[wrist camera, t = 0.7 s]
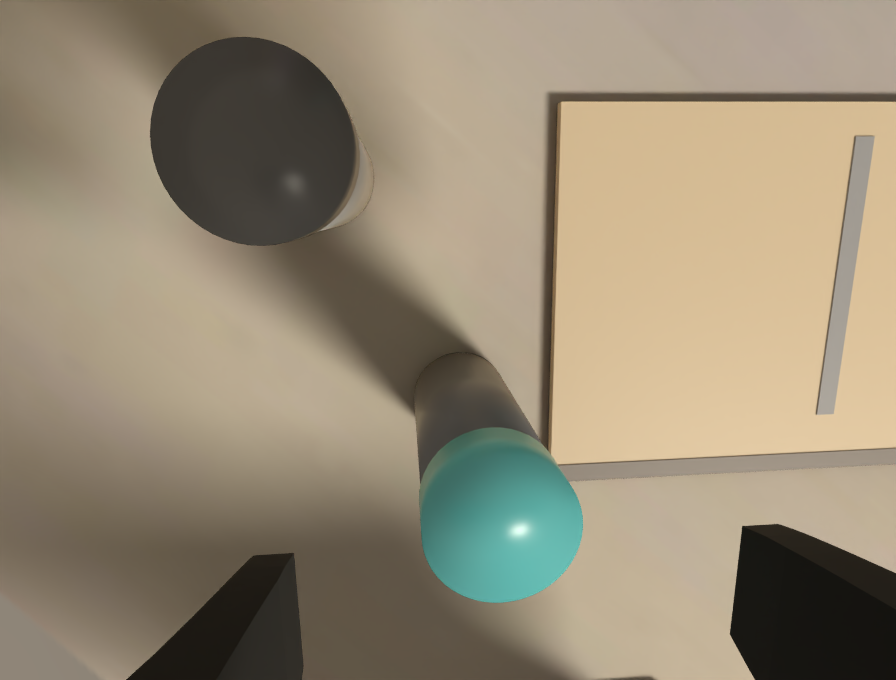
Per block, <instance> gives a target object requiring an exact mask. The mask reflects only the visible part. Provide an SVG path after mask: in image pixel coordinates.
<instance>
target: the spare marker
mask: <svg viewBox="0 0 896 680" xmlns="http://www.w3.org/2000/svg"><path fill="white" fill-rule="evenodd" d="M150 138H151V149H152V154H153V159H154V163H155V166H156V169H157V172H158V174H159V177H160V179H161V181H162V183H163V185H164V187H165V189H166V190H167V192H168V193H169V195H170V197H171V198H172V199H173V201H174V202H175V203H176V204H177V206H178V207H179V208H180V209H181V210H182V211H183V212H184V213H185V214H186V215H187V216H188V217H189V218H190V219H191V220H193V221H194V222H195V223H196V224H198V225H199V226H200V227H202V228H204V229H205V230H207V231H209V232H210V233H212V234H214V235H216V236H219V237H221V238H223V239H226V240H229V241H232V242H236V243H240V244H246V245H257V246H265V245H276V244H280V243H285V242H289V241H293V240H297V239H300V238H304V237H306V236H309V235H312V234H314V233H316V232H318V231H322V230H326V229H330V228H335V227H339V226H342V225H344V224H346V223H348V222H350V221H352V220H353V219H355V218H356V217H357V216H358V215H359V214H360V213H361V212H362V211H363V210H364V208H365V207H366V205H367V204H368V202H369V199H370V197H371V194H372V191H373V185H374V172H373V166H372V162H371V159H370V157H369V155H368V153H367V151H366V149H365V147H364V145H363V144H362V142H361V140H360V138H359V136H358V135H357V133H356V130H355V127H354V124H353V122H352V119H351V117H350V115H349V113H348V111H347V109H346V108H345V106H344V104H343V102H342V100H341V98H340V96H339V94H338V92H337V91H336V90H335V88H334V87H333V85H332V84H331V82H330V81H329V80H328V79H327V77H326V76H325V75H324V74H323V73H322V72H321V71H320V70H319V69H318V68H317V67H316V66H315V65H314V64H313V63H312V62H310V61H309V60H308V59H306V58H305V57H304V56H302V55H301V54H299V53H298V52H296V51H294V50H292V49H290V48H288V47H286V46H284V45H281V44H278V43H276V42H273V41H269V40H264V39H260V38H250V37H236V38H227V39H223V40H218V41H215V42H212V43H209V44H207V45H204V46H202V47H200V48H198V49H197V50H195V51H193V52H192V53H190V54H189V55H188V56H186V57H185V58H184V59H182V60H181V61H180V62H179V63H178V64H177V65H176V66H175V67H174V68H173V69H172V71H171V72H170V74H169V75H168V76H167V78H166V79H165V81H164V82H163V84H162V86H161V88H160V90H159V92H158V95H157V97H156V100H155V103H154V107H153V111H152V116H151V127H150Z"/></svg>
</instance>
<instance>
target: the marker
mask: <svg viewBox="0 0 896 680" xmlns="http://www.w3.org/2000/svg"><path fill="white" fill-rule="evenodd" d="M414 403H415V417H416V431H417V444H418V458H419V472H420V490H419V505H420V521H421V536H422V546H423V550H424V554H425V557H426V559H427V562H428V564H429V566H430V567H431V569H432V571H433V572H434V573H435V575H436V576H437V577H438V578H439V579H440V580H441V581H442V582H443V583H444V584H445V585H446V586H447V587H449V588H450V589H452V590H453V591H455V592H457V593H459V594H460V595H462V596H465V597H468V598H470V599H473V600H478V601H482V602H492V603H499V602H510V601H515V600H520V599H523V598H526V597H529V596H532V595H534V594H536V593H538V592H540V591H542V590H543V589H545V588H546V587H548V586H549V585H551V584H552V583H553V582H554V581H556V580H557V579H558V578H559V577H560V576H561V575H562V574H563V573H564V572H565V570H566V569H567V568H568V566H569V565H570V564H571V562H572V560H573V559H574V557H575V555H576V553H577V550H578V548H579V545H580V541H581V537H582V530H583V516H582V511H581V506H580V503H579V500H578V498H577V496H576V494H575V492H574V490H573V488H572V487H571V485H570V484H569V482H568V480H567V479H566V477H565V476H564V474H563V472H562V471H561V469H560V468H559V466H558V464H557V463H556V461H555V459H554V458H553V457H552V455H551V454H550V452H549V451H548V450H547V449H546V448H545V447H544V446H543V444H542V443H541V441H540V439H539V438H538V436H537V435H536V433H535V431H534V430H533V428H532V426H531V425H530V423H529V422H528V420H527V418H526V417H525V415H524V413H523V412H522V410H521V408H520V407H519V405H518V404H517V402H516V400H515V399H514V397H513V395H512V394H511V392H510V390H509V389H508V387H507V386H506V384H505V382H504V381H503V379H502V377H501V376H500V374H499V373H498V371H497V370H496V368H495V367H494V366H493V365H492V364H491V363H489V362H488V361H487V360H485V359H484V358H482V357H480V356H477V355H474V354H470V353H452V354H448V355H445V356H442V357H440V358H438V359H436V360H435V361H433V362H432V363H431V364H430V365H428V366H427V367H426V368H425V370H424V371H423V372H422V374H421V375H420V377H419V379H418V381H417V384H416V387H415V392H414Z"/></svg>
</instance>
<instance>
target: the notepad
mask: <svg viewBox="0 0 896 680" xmlns="http://www.w3.org/2000/svg"><path fill="white" fill-rule="evenodd" d="M548 451H549V452H550V454H551V455H552V457H553V458H554V459H555V461H556V463H557V464H558V466H559V468H560V469H561V471H562V472H563V474H564V476H565V477H566V479H567V480H568V481H587V480H606V479H625V478H644V477H663V476H682V475H701V474H720V473H739V472H758V471H777V470H796V469H815V468H834V467H853V466H872V465H891V464H896V102H560V103H559V104H558V111H557V147H556V183H555V219H554V255H553V291H552V327H551V363H550V399H549V435H548Z"/></svg>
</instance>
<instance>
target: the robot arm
mask: <svg viewBox="0 0 896 680" xmlns="http://www.w3.org/2000/svg"><path fill="white" fill-rule="evenodd" d="M730 635H731V637H732V639H733V641H734V643H735V644H736V646H737V648H738V650H739V652H740V654H741V655H742V657H743V659H744V661H745V663H746V665H747V666H748V668H749V670H750V672H751V673H752V675H753V677H754V679H755V680H896V573H894V572H892V571H889V570H887V569H885V568H883V567H880V566H878V565H876V564H874V563H872V562H869V561H867V560H865V559H863V558H860V557H858V556H856V555H854V554H851V553H849V552H847V551H845V550H842V549H840V548H838V547H835V546H833V545H831V544H828V543H826V542H824V541H821V540H819V539H817V538H814V537H812V536H809V535H807V534H804V533H802V532H799V531H797V530H794V529H791V528H788V527H785V526H782V525H779V524H772V525H755V526H742V534H741V543H740V552H739V560H738V569H737V577H736V586H735V595H734V603H733V612H732V621H731V629H730ZM302 673H303V655H302V644H301V632H300V620H299V608H298V596H297V585H296V573H295V561H294V553H288V554H272V555H255V556H253V557H252V558H250V559H249V560H248V561H247V562H246V563H245V564H244V565H243V566H242V567H241V568H240V569H239V570H238V571H237V572H236V573H235V574H234V575H233V576H232V577H231V578H230V579H229V580H228V581H227V582H226V583H225V584H224V585H223V586H222V588H221V589H220V590H219V591H218V592H217V593H216V594H215V595H214V596H213V597H212V598H211V599H210V600H209V601H208V602H207V603H206V604H205V605H204V606H203V607H202V608H201V609H200V610H199V611H198V612H197V613H196V614H195V615H194V616H193V617H192V618H191V619H190V620H189V621H188V622H187V623H186V624H185V625H184V626H183V627H182V628H181V629H180V630H179V631H178V632H177V633H176V634H175V635H174V636H173V637H172V638H171V639H170V640H168V641H167V642H166V643H165V644H164V645H163V646H162V647H161V648H160V649H159V650H158V651H157V652H156V653H155V654H154V655H153V656H152V657H151V658H150V659H149V660H147V661H146V662H145V663H144V664H143V665H142V666H141V667H140V668H139V669H138V670H136V671H135V672H134V673H133V674H132V675H131V676H130V677H129V678H128V679H126V680H302Z"/></svg>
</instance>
